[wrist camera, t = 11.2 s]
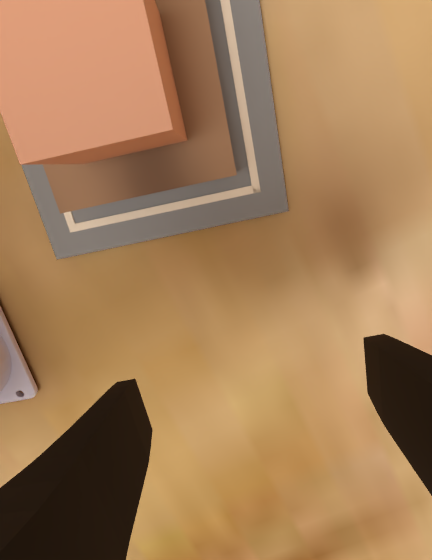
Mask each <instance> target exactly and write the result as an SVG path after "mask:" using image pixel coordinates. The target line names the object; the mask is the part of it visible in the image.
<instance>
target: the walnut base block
mask: <svg viewBox="0 0 432 560" xmlns="http://www.w3.org/2000/svg"><path fill="white" fill-rule="evenodd" d="M155 3H156V5H157V8H158V10H159V13H160V17H161V22H162V26H163V31H164V35H165V40H166V45H167V49H168V54H169V58H170V63H171V67H172V72H173V77H174V81H175V86H176V90H177V95H178V99H179V104H180V109H181V113H182V118H183V122H184V127H185V131H186V136H187V141H184V142H179V143H175V144H170V145H166V146H162V147H157V148H153V149H148V150H144V151H140V152H135V153H131V154H126V155H122V156H117V157H113V158H109V159H104V160H100V161H95V162H91V163H87V164H43V167H44V170H45V172H46V175H47V178H48V181H49V184H50V186H51V189H52V192H53V195H54V198H55V201H56V203H57V206H58V209H59V212H60V214H61V213H65V212H70V211H75V210H79V209H84V208H88V207H93V206H98V205H102V204H107V203H111V202H116V201H120V200H125V199H130V198H134V197H139V196H143V195H148V194H152V193H157V192H162V191H166V190H171V189H175V188H180V187H184V186H189V185H194V184H198V183H203V182H207V181H212V180H216V179H221V178H226V177H230V176H235V175H237V173H236V168H235V162H234V157H233V151H232V146H231V140H230V135H229V129H228V124H227V118H226V113H225V107H224V102H223V96H222V91H221V85H220V80H219V74H218V69H217V63H216V58H215V52H214V47H213V41H212V36H211V30H210V25H209V19H208V14H207V8H206V3H205V0H155Z"/></svg>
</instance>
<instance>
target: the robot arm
mask: <svg viewBox="0 0 432 560" xmlns="http://www.w3.org/2000/svg"><path fill="white" fill-rule="evenodd" d="M364 351H365V364H366V377H367V390H368V395H369V397H370V399H371V401H372V403H373V405H374V407H375V409H376V411H377V413H378V415H379V417H380V418H381V420H382V422H383V424H384V426H385V427H386V429H387V430H388V432H389V433H390V435H391V436H392V438H393V439H394V441H395V442H396V444H397V445H398V447H399V448H400V450H401V451H402V452H403V454H404V455H405V457H406V458H407V460H408V461H409V463H410V464H411V466H412V467H413V469H414V470H415V472H416V473H417V475H418V476H419V478H420V479H421V480H422V482H423V483H424V485H425V486H426V488H427V489H428V491H429V492H430V494H431V495H432V355H430V354H427V353H425V352H423V351H421V350H419V349H417V348H415V347H412V346H410V345H408V344H406V343H404V342H402V341H399V340H397V339H395V338H393V337H390V336H388V335H385V334H381V335H376V336H370V337H364ZM20 391H22V392H23V393H21V392H20ZM37 392H38V388H37V386H36V384H35V381H34V379H33V377H32V375H31V373H30V370H29V368H28V366H27V364H26V362H25V359H24V357H23V355H22V353H21V350H20V348H19V346H18V344H17V342H16V339H15V337H14V335H13V333H12V331H11V328H10V326H9V324H8V322H7V320H6V317H5V315H4V313H3V311H2V308H1V306H0V404H3V403H8V402H14V401H19V400H25V399H31V398H33V397H34V396H35V395H36V394H37ZM151 439H152V427H151V424H150V421H149V418H148V415H147V412H146V409H145V406H144V403H143V400H142V397H141V394H140V391H139V388H138V385H137V382H136V380H135V379H132V380H126V381H121V382H117V383H115V384H114V385H113V386H112V387H111V388H110V389H109V390H108V391H107V392H106V393H105V394H104V395H103V396H102V397H101V398H100V399H99V400H98V401H97V402H96V403H95V404H94V405H93V406H92V407H91V408H90V409H89V410H88V411H87V412H86V413H85V414H84V415H83V416H82V417H80V418H79V419H78V420H77V421H76V422H75V423H74V424H73V425H72V426H71V427H70V428H69V429H68V430H67V431H66V432H65V433H64V434H63V435H62V436H61V437H60V438H59V439H57V440H56V441H55V442H54V443H53V444H52V445H51V446H50V447H49V448H48V449H47V450H46V451H44V452H43V453H42V454H41V455H40V456H39V457H38V458H37V459H35V460H34V461H33V462H32V463H31V464H29V465H28V466H27V467H26V468H25V469H23V470H22V471H21V472H20V473H18V474H17V475H16V476H15V477H13V478H12V479H11V480H10V481H8V482H7V483H6V484H5V485H3V486H2V487H1V488H0V560H126V556H127V551H128V546H129V541H130V537H131V533H132V529H133V525H134V521H135V517H136V513H137V508H138V504H139V500H140V496H141V492H142V488H143V484H144V480H145V476H146V472H147V467H148V463H149V456H150V448H151Z"/></svg>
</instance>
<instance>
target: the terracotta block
mask: <svg viewBox="0 0 432 560" xmlns="http://www.w3.org/2000/svg"><path fill="white" fill-rule="evenodd" d="M0 112H1V115H2V117H3V120H4V123H5V125H6V128H7V131H8V133H9V136H10V139H11V141H12V144H13V147H14V149H15V152H16V155H17V157H18V160H19V163H20V165H32V164H87V163H91V162H95V161H100V160H104V159H109V158H113V157H117V156H122V155H126V154H131V153H135V152H140V151H144V150H148V149H153V148H157V147H162V146H166V145H170V144H175V143H179V142H184V141H187V136H186V131H185V127H184V122H183V118H182V113H181V109H180V104H179V99H178V95H177V90H176V86H175V81H174V77H173V72H172V67H171V63H170V58H169V54H168V49H167V45H166V40H165V35H164V31H163V26H162V22H161V17H160V13H159V10H158V8H157V5H156V3H155V0H0Z"/></svg>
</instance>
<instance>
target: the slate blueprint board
mask: <svg viewBox="0 0 432 560" xmlns="http://www.w3.org/2000/svg"><path fill="white" fill-rule="evenodd" d="M205 3H206V8H207V14H208V19H209V25H210V30H211V36H212V41H213V47H214V52H215V58H216V63H217V69H218V74H219V80H220V85H221V91H222V96H223V102H224V107H225V113H226V118H227V124H228V129H229V135H230V140H231V146H232V151H233V157H234V162H235V168H236V173H237V175H235V176H230V177H226V178H221V179H216V180H212V181H207V182H203V183H198V184H194V185H189V186H184V187H180V188H175V189H171V190H166V191H162V192H157V193H152V194H148V195H143V196H139V197H134V198H130V199H125V200H120V201H116V202H111V203H107V204H102V205H98V206H93V207H88V208H84V209H79V210H75V211H70V212H65V213H61V214H60V212H59V209H58V206H57V203H56V201H55V198H54V195H53V192H52V189H51V186H50V184H49V181H48V178H47V175H46V172H45V170H44V167H43V164H32V165H22V168H23V171H24V173H25V176H26V179H27V181H28V184H29V187H30V189H31V192H32V195H33V197H34V200H35V203H36V205H37V208H38V211H39V213H40V216H41V219H42V221H43V224H44V227H45V229H46V232H47V235H48V237H49V240H50V243H51V245H52V248H53V251H54V253H55V256H56V259H62V258H67V257H72V256H77V255H81V254H86V253H91V252H96V251H101V250H105V249H110V248H115V247H120V246H125V245H129V244H134V243H139V242H144V241H148V240H153V239H158V238H163V237H168V236H172V235H177V234H182V233H187V232H192V231H196V230H201V229H206V228H211V227H215V226H220V225H225V224H230V223H235V222H239V221H244V220H249V219H254V218H259V217H263V216H268V215H273V214H278V213H282V212H287V211H289V210H288V203H287V195H286V188H285V181H284V174H283V167H282V159H281V152H280V145H279V138H278V131H277V123H276V116H275V109H274V102H273V95H272V87H271V80H270V73H269V66H268V58H267V51H266V44H265V37H264V30H263V22H262V15H261V8H260V1H259V0H205Z"/></svg>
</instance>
